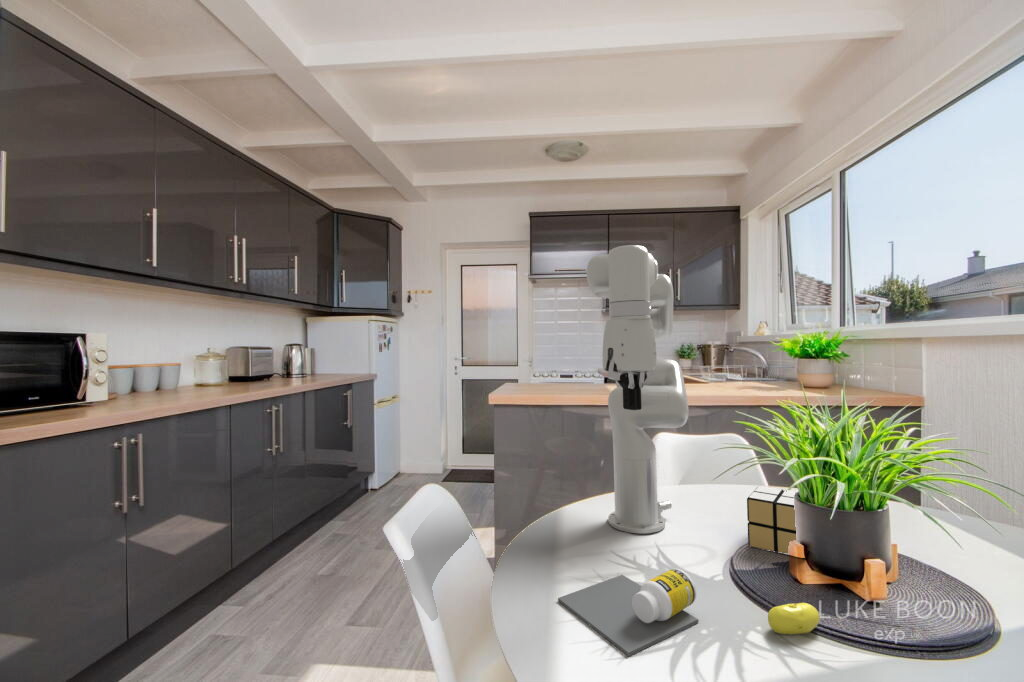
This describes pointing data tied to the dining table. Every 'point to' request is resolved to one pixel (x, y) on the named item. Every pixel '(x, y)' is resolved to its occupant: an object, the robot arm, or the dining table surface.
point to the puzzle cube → (771, 519)
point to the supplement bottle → (664, 596)
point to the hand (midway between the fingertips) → (632, 409)
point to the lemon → (793, 618)
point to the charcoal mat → (622, 615)
